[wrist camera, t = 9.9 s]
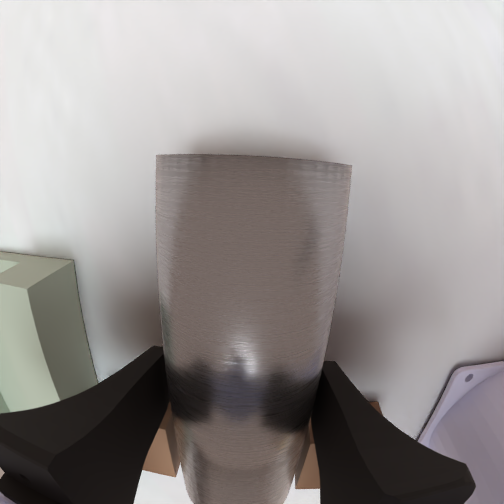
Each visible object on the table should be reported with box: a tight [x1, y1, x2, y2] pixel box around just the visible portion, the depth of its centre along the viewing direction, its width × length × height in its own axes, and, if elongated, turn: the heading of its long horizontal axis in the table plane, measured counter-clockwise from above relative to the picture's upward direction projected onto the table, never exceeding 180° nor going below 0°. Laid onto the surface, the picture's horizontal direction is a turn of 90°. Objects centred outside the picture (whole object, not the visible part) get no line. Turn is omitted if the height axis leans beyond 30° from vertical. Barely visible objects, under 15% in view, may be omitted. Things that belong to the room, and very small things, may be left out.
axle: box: [156, 154, 352, 504], centre depth 10 cm, size 14×5×5 cm, turn 177°
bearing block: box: [142, 401, 383, 489], centre depth 12 cm, size 13×4×2 cm, turn 87°
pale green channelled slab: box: [0, 252, 98, 414], centre depth 13 cm, size 11×16×3 cm
